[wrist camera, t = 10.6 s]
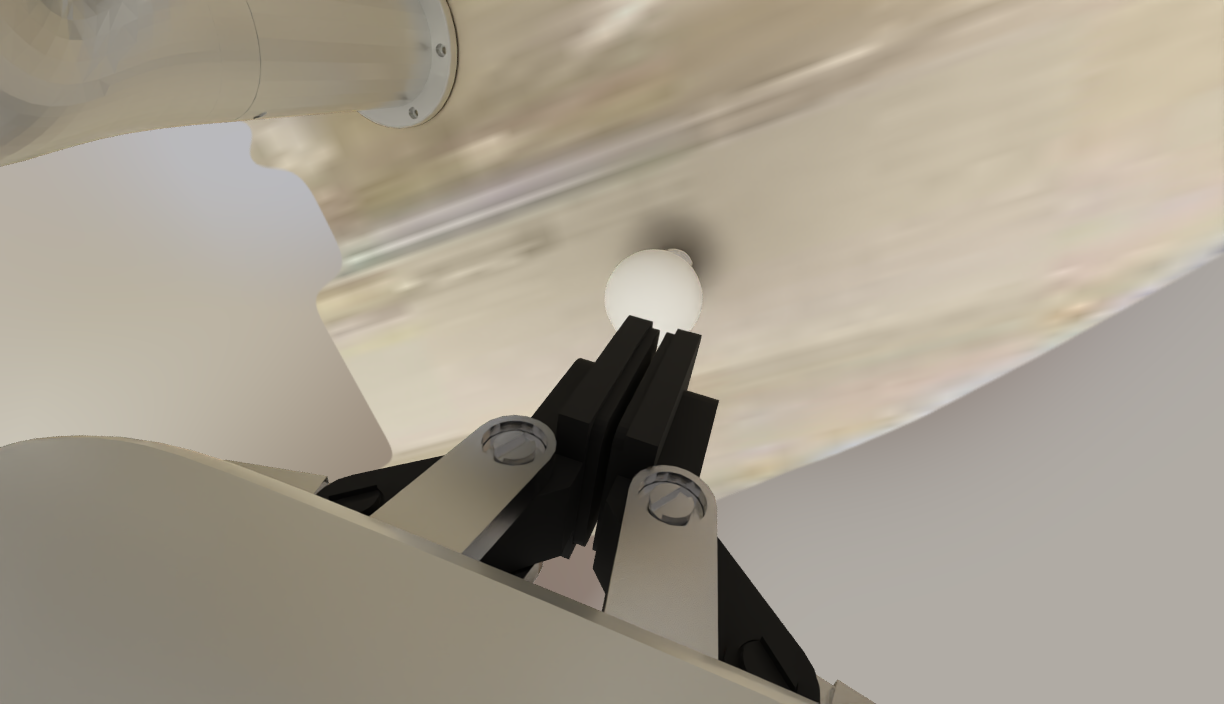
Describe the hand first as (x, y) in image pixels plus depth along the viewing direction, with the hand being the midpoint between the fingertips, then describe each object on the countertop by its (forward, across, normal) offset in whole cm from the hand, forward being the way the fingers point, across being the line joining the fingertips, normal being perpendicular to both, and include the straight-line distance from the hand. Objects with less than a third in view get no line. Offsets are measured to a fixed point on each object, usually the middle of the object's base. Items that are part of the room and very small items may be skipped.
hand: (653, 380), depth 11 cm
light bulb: (+29, +4, +8) cm, 31 cm away
